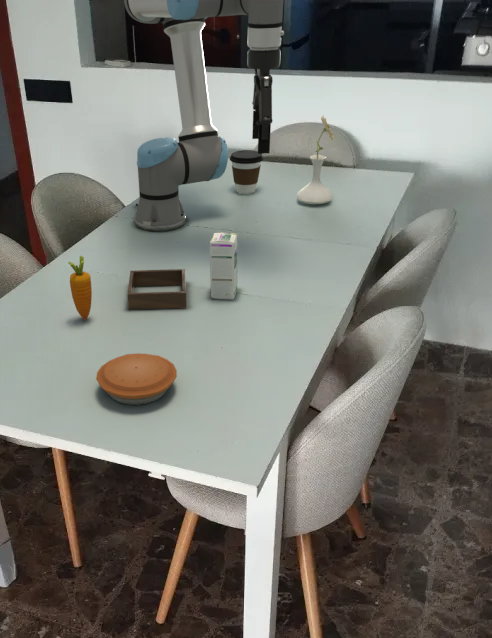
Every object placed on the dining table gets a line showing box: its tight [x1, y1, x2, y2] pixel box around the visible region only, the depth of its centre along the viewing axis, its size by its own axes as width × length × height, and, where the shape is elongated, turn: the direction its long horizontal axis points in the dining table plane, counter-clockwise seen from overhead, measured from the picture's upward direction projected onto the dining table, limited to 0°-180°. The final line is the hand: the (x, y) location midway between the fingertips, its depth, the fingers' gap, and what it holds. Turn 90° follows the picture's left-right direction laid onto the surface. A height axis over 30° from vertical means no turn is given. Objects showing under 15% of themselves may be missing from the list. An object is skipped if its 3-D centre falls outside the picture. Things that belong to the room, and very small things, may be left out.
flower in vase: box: [296, 115, 335, 205], centre depth 216 cm, size 13×11×25 cm
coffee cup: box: [229, 149, 264, 195], centre depth 230 cm, size 11×11×12 cm
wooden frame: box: [127, 268, 187, 311], centre depth 169 cm, size 14×14×4 cm
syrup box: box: [209, 232, 238, 301], centre depth 166 cm, size 6×6×14 cm
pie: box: [95, 353, 178, 406], centre depth 136 cm, size 15×16×5 cm
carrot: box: [67, 255, 93, 321], centre depth 157 cm, size 5×5×15 cm
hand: (260, 145), depth 172 cm, fingers open, 13 cm apart
